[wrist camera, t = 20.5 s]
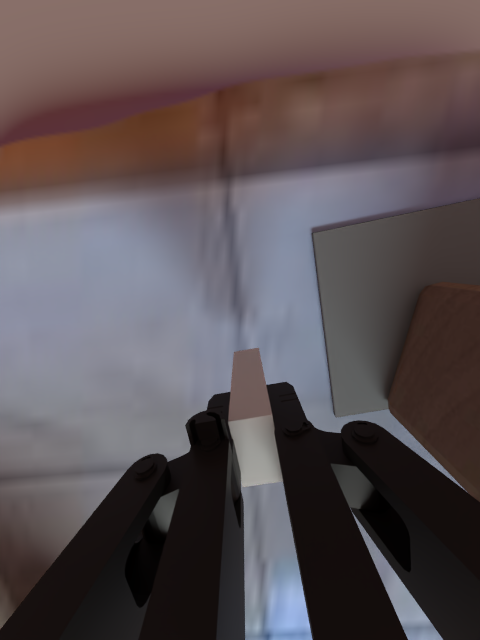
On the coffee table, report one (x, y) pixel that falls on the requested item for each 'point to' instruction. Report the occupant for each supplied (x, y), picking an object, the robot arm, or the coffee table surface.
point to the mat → (386, 292)
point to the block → (443, 379)
